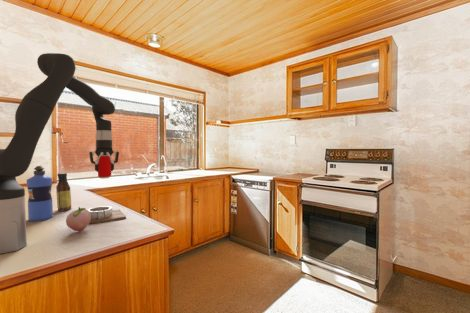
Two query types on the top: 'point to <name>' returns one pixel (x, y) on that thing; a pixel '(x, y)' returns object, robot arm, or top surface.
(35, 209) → the water bottle
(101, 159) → the beverage can
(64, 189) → the sauce bottle
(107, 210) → the steel collar
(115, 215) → the walnut base board
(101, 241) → the top surface
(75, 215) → the decorative fruit
